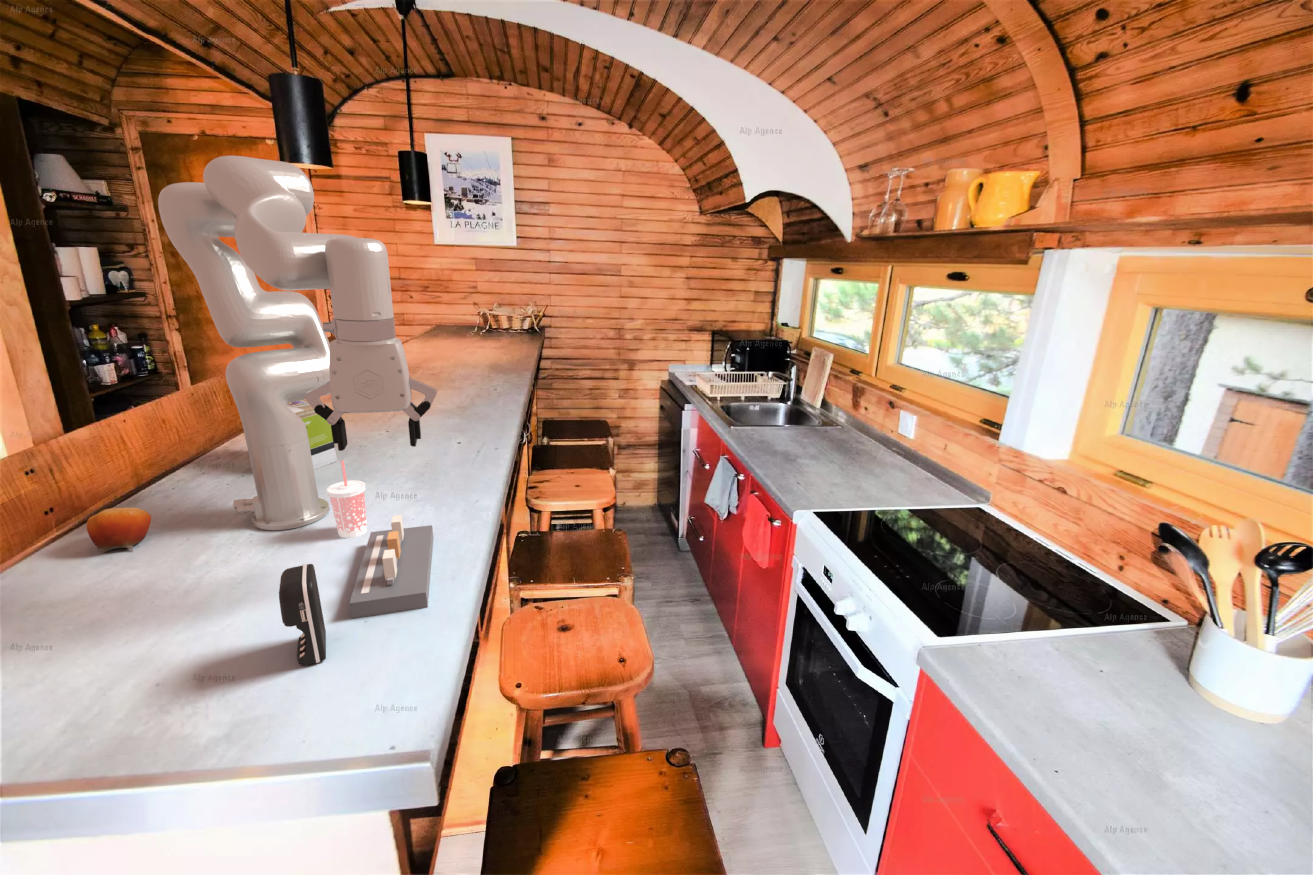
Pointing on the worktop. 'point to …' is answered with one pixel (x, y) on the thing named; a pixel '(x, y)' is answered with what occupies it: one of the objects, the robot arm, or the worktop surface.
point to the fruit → (118, 528)
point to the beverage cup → (348, 506)
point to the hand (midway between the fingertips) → (379, 445)
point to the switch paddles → (393, 549)
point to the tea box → (316, 434)
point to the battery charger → (303, 612)
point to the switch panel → (410, 577)
